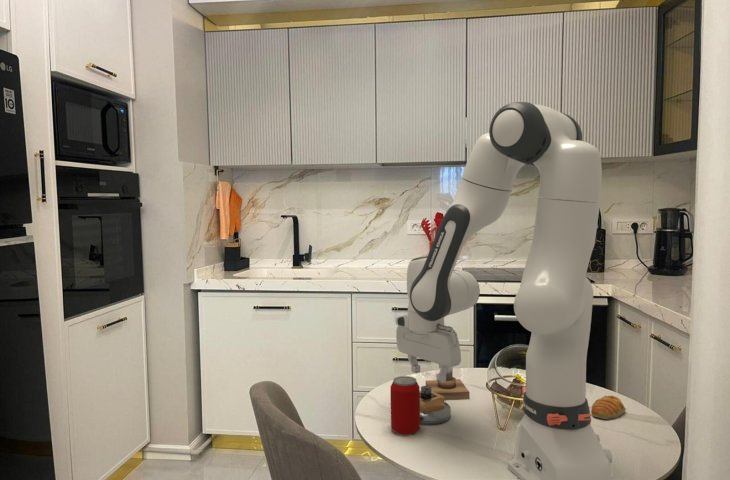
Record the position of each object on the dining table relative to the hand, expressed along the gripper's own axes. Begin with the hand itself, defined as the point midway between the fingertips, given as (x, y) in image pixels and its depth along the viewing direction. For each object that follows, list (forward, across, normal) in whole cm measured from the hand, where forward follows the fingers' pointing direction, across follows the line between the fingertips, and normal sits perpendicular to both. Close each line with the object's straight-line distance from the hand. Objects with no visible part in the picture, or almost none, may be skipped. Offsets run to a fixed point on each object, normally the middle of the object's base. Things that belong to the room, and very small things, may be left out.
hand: (428, 376), depth 124 cm
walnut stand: (+10, +9, -14) cm, 19 cm away
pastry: (+12, -25, -37) cm, 46 cm away
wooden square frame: (+8, +1, 0) cm, 8 cm away
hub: (+10, +1, 0) cm, 10 cm away
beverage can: (+10, -3, +10) cm, 14 cm away
